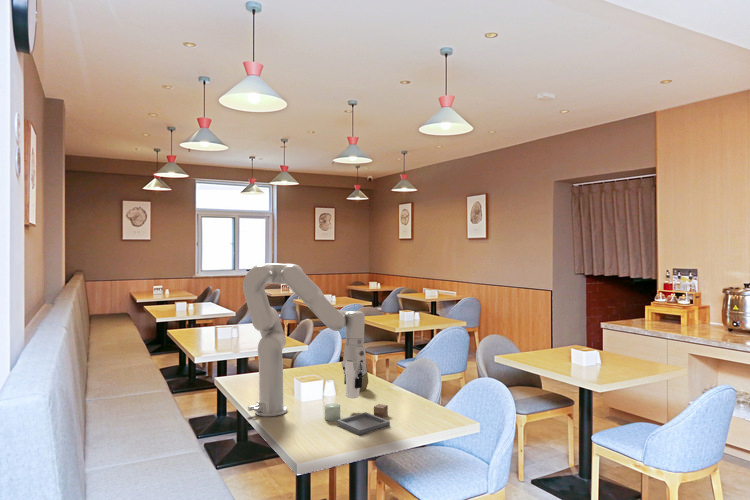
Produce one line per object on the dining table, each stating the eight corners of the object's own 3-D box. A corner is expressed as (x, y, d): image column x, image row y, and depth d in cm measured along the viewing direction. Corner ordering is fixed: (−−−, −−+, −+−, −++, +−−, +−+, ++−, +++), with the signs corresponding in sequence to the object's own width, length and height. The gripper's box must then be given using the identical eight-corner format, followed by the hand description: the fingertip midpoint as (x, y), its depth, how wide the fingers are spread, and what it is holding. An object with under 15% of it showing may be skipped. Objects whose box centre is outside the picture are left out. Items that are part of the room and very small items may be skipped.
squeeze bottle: (371, 388, 236) (371, 350, 236) (362, 393, 229) (361, 353, 229) (357, 386, 240) (357, 348, 240) (347, 390, 233) (347, 351, 233)
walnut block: (382, 418, 194) (382, 408, 194) (373, 416, 196) (373, 406, 196) (387, 415, 198) (387, 405, 198) (378, 414, 200) (378, 403, 200)
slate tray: (359, 435, 176) (359, 430, 176) (336, 424, 187) (336, 420, 187) (389, 426, 185) (389, 421, 185) (366, 416, 196) (366, 412, 196)
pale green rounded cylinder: (330, 422, 190) (330, 409, 190) (321, 418, 195) (321, 405, 195) (343, 418, 194) (343, 406, 194) (334, 415, 198) (334, 402, 198)
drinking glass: (358, 400, 200) (360, 362, 200) (342, 398, 201) (343, 361, 201) (362, 395, 207) (363, 359, 207) (346, 394, 208) (348, 357, 208)
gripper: (375, 344, 200) (373, 389, 200) (349, 337, 213) (347, 380, 213) (360, 346, 195) (358, 392, 195) (334, 339, 208) (333, 382, 208)
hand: (353, 385), depth 204 cm, fingers closed on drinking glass, 6 cm apart
